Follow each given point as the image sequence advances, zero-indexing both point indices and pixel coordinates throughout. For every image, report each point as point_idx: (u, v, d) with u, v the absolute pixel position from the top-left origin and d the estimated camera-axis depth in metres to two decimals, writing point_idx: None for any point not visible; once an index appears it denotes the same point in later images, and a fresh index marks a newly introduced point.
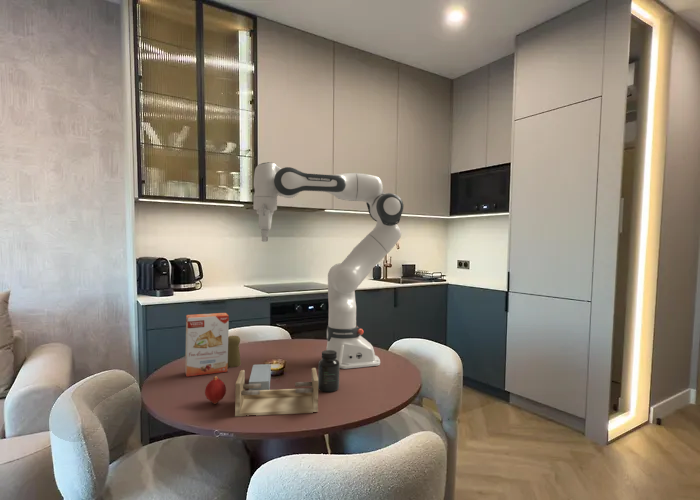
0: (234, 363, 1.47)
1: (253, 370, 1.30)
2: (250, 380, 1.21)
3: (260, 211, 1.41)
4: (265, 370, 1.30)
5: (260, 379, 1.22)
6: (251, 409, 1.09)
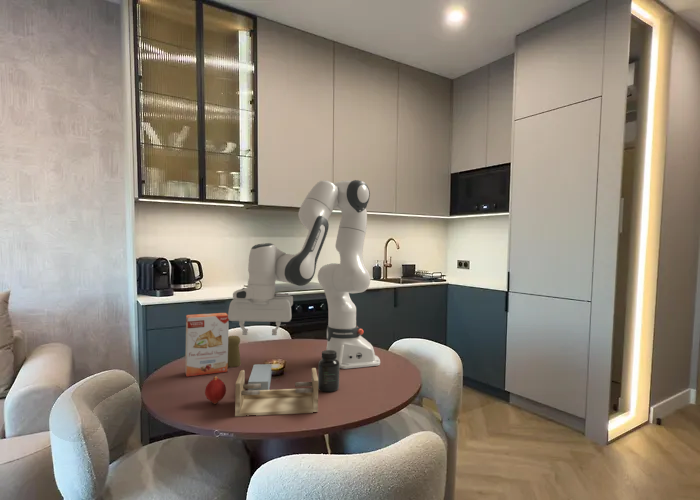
0: (234, 363, 1.47)
1: (253, 370, 1.30)
2: (249, 380, 1.21)
3: (289, 302, 1.28)
4: (265, 370, 1.30)
5: (260, 379, 1.21)
6: (251, 409, 1.09)
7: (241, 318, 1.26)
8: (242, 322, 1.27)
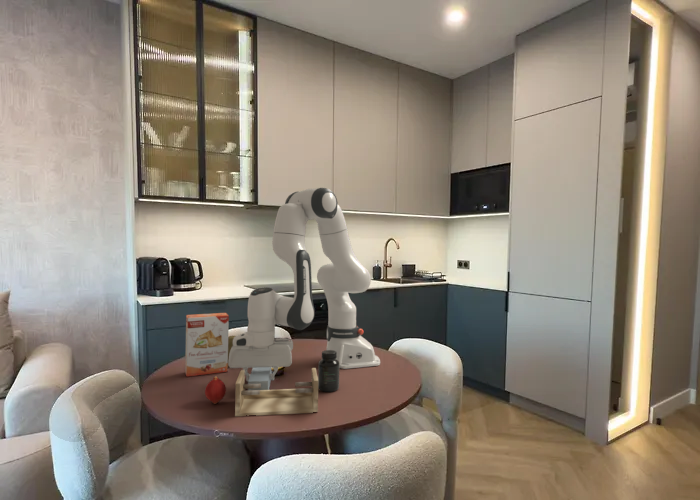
0: None
1: (253, 369, 1.30)
2: (249, 379, 1.21)
3: (289, 347, 1.28)
4: (265, 370, 1.30)
5: (260, 379, 1.21)
6: (251, 409, 1.09)
7: (241, 365, 1.25)
8: (246, 368, 1.26)
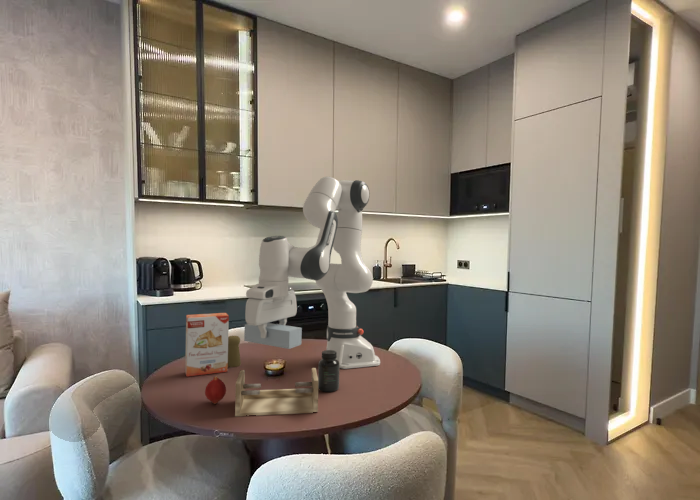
0: (234, 363, 1.47)
1: None
2: (286, 330, 1.13)
3: None
4: (272, 324, 1.20)
5: (291, 328, 1.16)
6: (251, 409, 1.09)
7: (265, 320, 1.12)
8: (265, 324, 1.14)
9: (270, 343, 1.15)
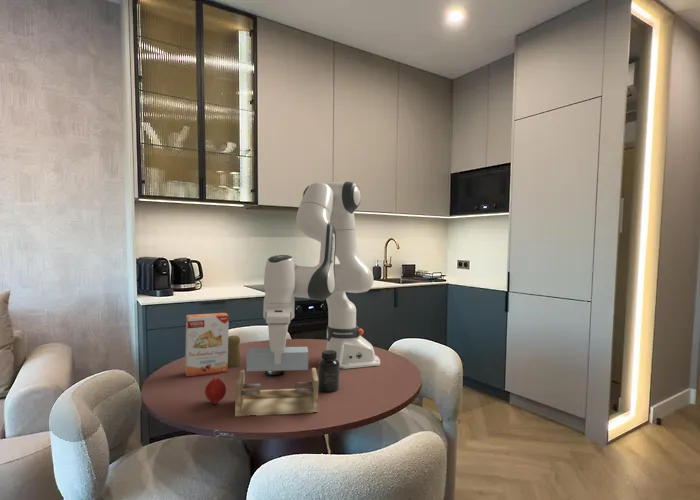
0: (234, 363, 1.47)
1: (269, 352, 1.10)
2: (303, 351, 1.11)
3: None
4: None
5: (301, 349, 1.14)
6: (251, 409, 1.09)
7: None
8: None
9: (283, 368, 1.10)
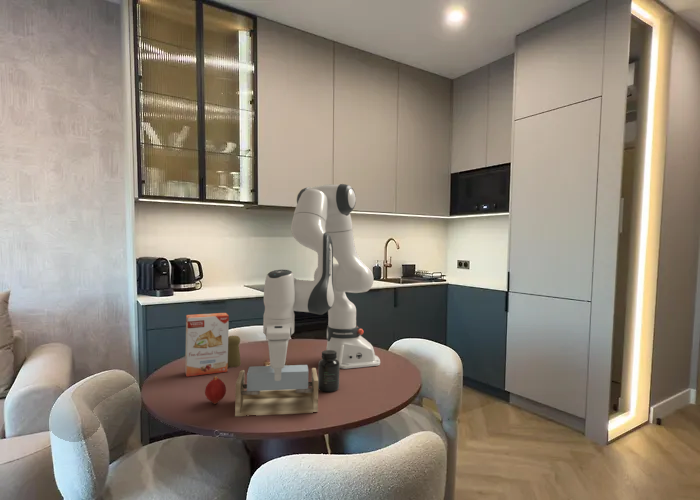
0: (234, 363, 1.47)
1: (270, 372, 1.10)
2: (303, 371, 1.12)
3: None
4: None
5: (301, 367, 1.15)
6: (251, 409, 1.09)
7: None
8: None
9: (284, 387, 1.11)
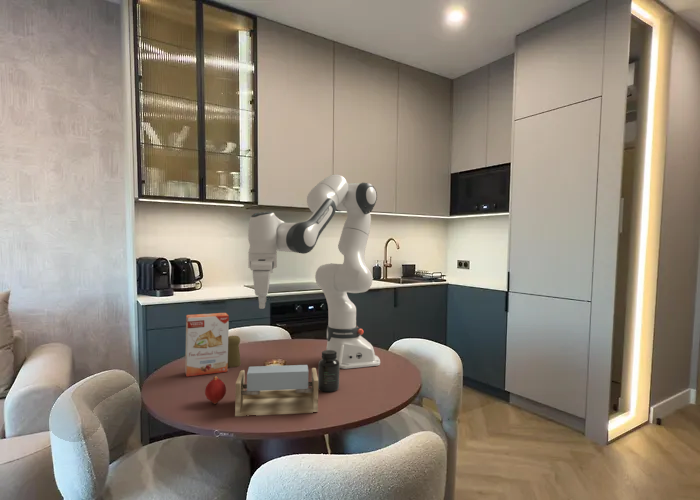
0: (234, 363, 1.47)
1: (270, 372, 1.10)
2: (303, 371, 1.12)
3: None
4: (273, 367, 1.14)
5: (301, 367, 1.15)
6: (251, 409, 1.09)
7: None
8: (265, 295, 1.20)
9: (284, 387, 1.11)
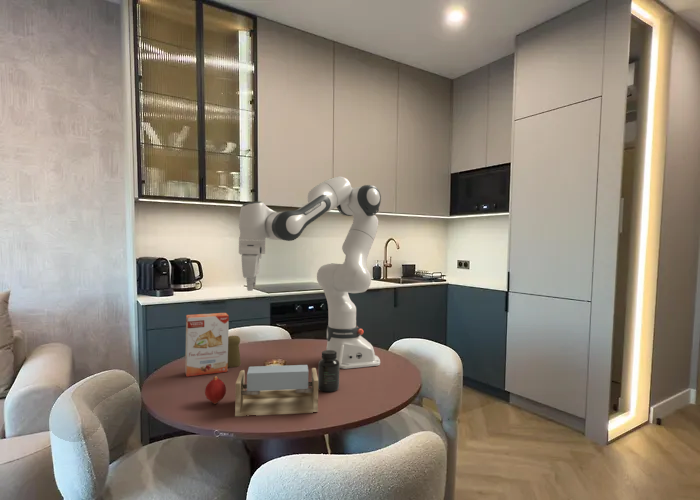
0: (234, 363, 1.47)
1: (270, 372, 1.10)
2: (303, 371, 1.12)
3: None
4: (273, 367, 1.14)
5: (301, 367, 1.15)
6: (251, 409, 1.09)
7: (255, 273, 1.29)
8: (253, 278, 1.29)
9: (284, 387, 1.11)
